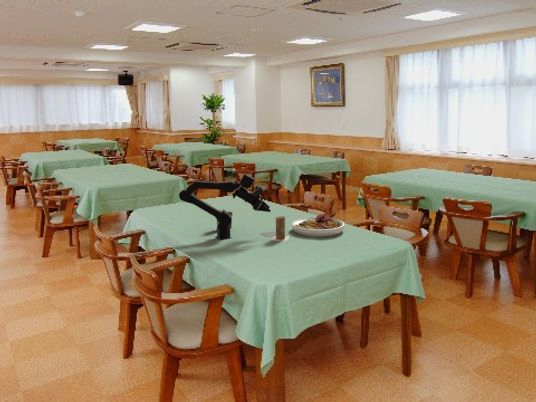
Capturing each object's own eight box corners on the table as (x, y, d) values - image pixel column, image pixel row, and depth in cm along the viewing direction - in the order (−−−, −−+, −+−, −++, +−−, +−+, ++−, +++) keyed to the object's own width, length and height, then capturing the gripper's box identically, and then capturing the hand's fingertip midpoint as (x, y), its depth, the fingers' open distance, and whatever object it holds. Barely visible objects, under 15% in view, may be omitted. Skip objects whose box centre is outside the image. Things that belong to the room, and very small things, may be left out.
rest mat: (267, 237, 272) (267, 236, 272) (259, 234, 280) (259, 233, 280) (281, 235, 277) (281, 234, 277) (272, 231, 284) (272, 231, 284)
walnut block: (276, 239, 267) (275, 217, 265) (277, 237, 272) (276, 216, 269) (284, 239, 266) (284, 218, 264) (285, 237, 271) (285, 216, 269)
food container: (225, 226, 299) (225, 210, 297) (233, 228, 295) (232, 211, 293) (211, 230, 290) (210, 214, 288) (218, 232, 286) (218, 215, 284)
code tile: (271, 240, 265) (271, 240, 265) (273, 236, 274) (273, 236, 274) (288, 241, 264) (288, 240, 264) (289, 236, 273) (289, 236, 273)
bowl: (342, 239, 267) (343, 225, 266) (288, 237, 273) (288, 223, 271) (345, 226, 296) (345, 213, 294) (296, 224, 302) (296, 212, 300)
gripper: (253, 185, 259) (278, 200, 261) (252, 180, 278) (276, 194, 280) (242, 203, 261) (267, 217, 263) (242, 197, 279) (266, 210, 281)
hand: (269, 209), depth 272 cm, fingers open, 9 cm apart
